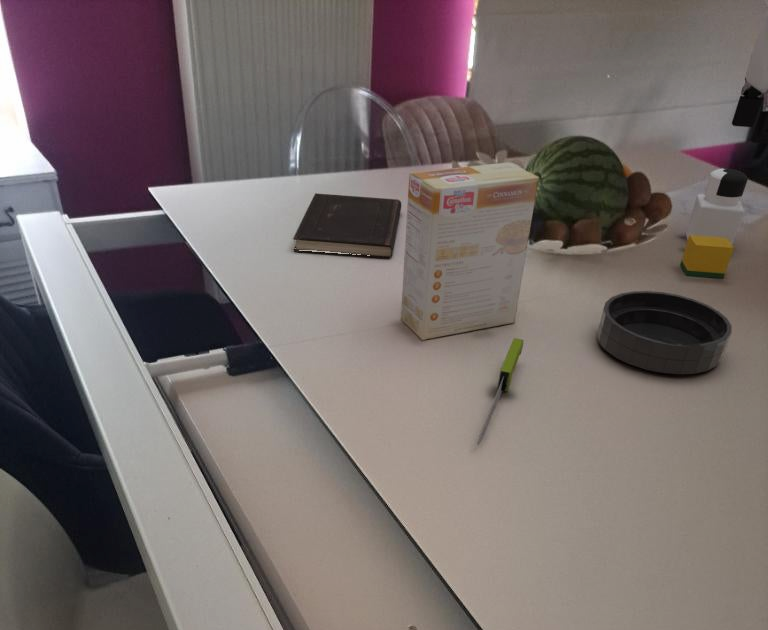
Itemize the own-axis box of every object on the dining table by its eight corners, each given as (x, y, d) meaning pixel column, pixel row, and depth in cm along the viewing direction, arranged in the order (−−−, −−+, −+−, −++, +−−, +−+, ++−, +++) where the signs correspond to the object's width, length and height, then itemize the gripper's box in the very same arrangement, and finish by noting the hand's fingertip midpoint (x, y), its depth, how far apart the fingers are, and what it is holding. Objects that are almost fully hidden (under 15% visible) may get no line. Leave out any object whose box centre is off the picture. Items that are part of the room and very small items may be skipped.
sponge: (716, 267, 123) (726, 237, 119) (723, 278, 119) (734, 247, 116) (679, 264, 123) (689, 234, 120) (685, 275, 119) (695, 244, 116)
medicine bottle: (725, 238, 134) (749, 168, 126) (730, 252, 128) (756, 179, 121) (684, 233, 135) (706, 163, 127) (688, 247, 129) (710, 175, 122)
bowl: (703, 326, 105) (714, 296, 102) (734, 383, 93) (747, 351, 90) (589, 316, 106) (596, 286, 103) (604, 372, 94) (613, 340, 91)
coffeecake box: (489, 303, 108) (510, 160, 95) (516, 324, 103) (542, 176, 90) (398, 319, 103) (407, 170, 90) (421, 341, 98) (435, 187, 85)
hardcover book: (293, 251, 119) (293, 237, 118) (315, 206, 137) (315, 193, 136) (392, 259, 119) (392, 245, 117) (401, 212, 137) (401, 199, 135)
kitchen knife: (480, 464, 79) (483, 443, 77) (468, 462, 80) (471, 440, 77) (521, 357, 94) (524, 336, 92) (511, 355, 95) (514, 334, 92)
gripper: (852, 2, 92) (796, 151, 103) (804, -11, 105) (759, 122, 116) (790, -1, 92) (741, 147, 103) (750, -15, 105) (711, 118, 116)
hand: (751, 134), depth 109 cm, fingers open, 9 cm apart
